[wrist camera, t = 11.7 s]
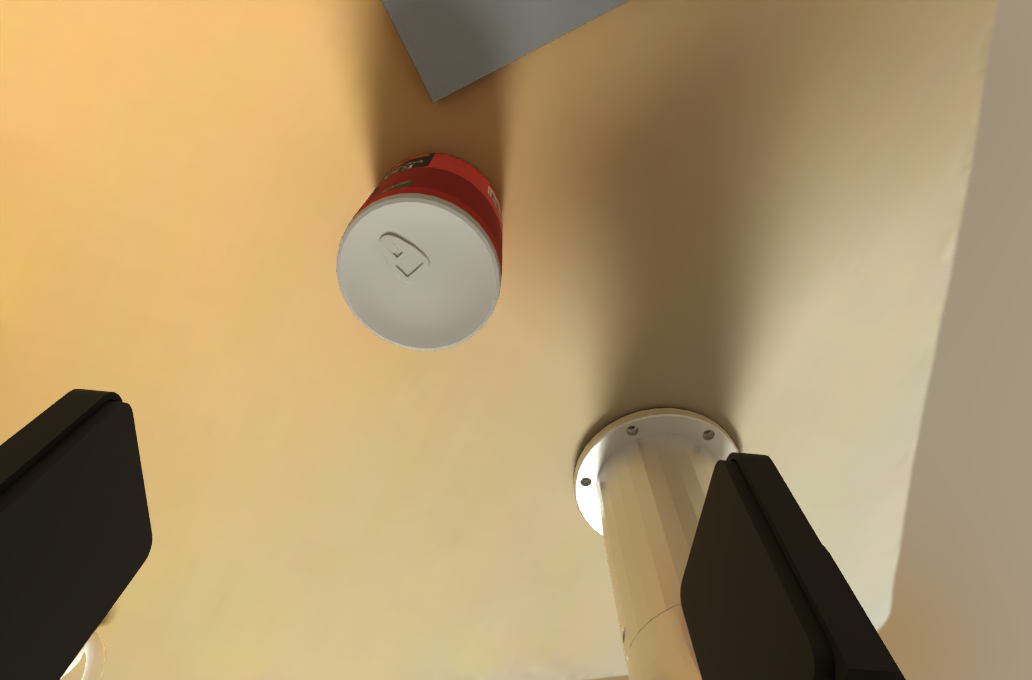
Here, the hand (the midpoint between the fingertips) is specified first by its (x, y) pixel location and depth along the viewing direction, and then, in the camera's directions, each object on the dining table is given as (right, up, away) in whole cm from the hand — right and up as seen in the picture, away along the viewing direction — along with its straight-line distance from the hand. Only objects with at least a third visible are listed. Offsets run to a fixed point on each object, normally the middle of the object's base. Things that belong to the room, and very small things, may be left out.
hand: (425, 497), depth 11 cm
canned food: (-3, +10, +30) cm, 32 cm away
